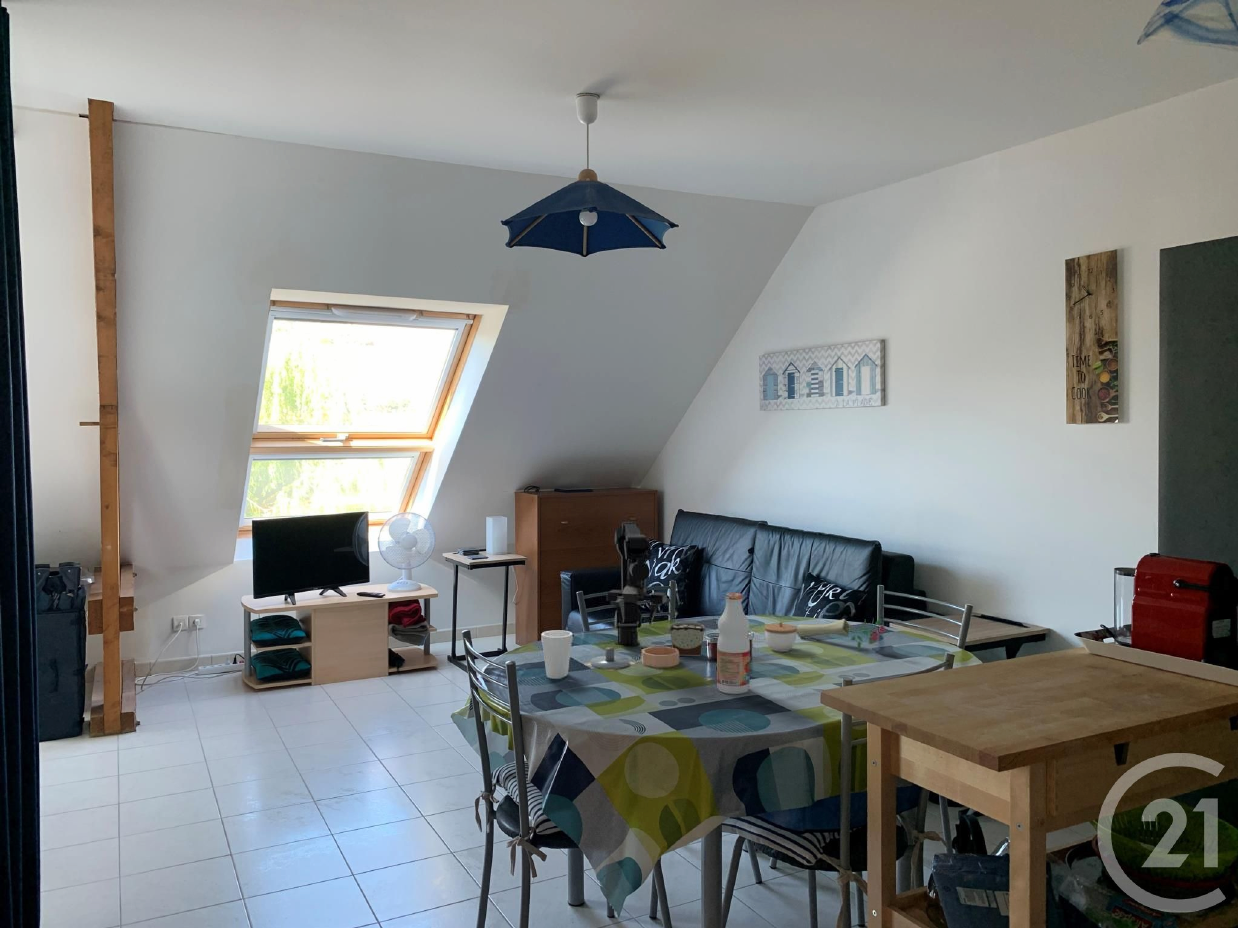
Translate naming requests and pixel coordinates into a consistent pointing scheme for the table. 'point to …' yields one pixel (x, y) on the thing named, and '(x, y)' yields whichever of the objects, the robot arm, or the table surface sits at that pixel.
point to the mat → (610, 669)
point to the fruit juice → (733, 648)
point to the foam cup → (556, 652)
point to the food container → (687, 638)
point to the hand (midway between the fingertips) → (636, 623)
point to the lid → (609, 660)
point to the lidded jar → (780, 636)
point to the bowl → (660, 656)
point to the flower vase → (839, 630)
